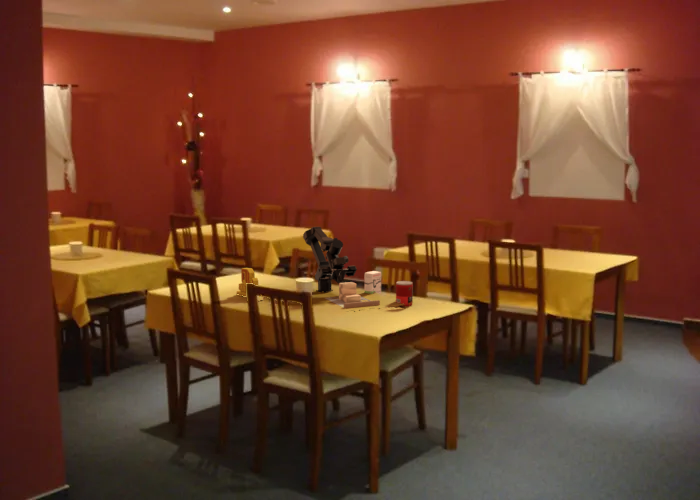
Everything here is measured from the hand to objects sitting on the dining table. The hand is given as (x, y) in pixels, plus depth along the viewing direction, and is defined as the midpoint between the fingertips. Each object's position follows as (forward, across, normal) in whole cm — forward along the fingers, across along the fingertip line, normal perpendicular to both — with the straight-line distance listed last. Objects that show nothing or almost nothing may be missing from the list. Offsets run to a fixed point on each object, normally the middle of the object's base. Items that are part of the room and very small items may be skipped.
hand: (342, 285), depth 373 cm
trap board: (+10, 0, 0) cm, 10 cm away
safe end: (+19, 0, -9) cm, 21 cm away
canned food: (+21, +22, -11) cm, 33 cm away
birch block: (+10, 0, -2) cm, 11 cm away
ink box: (+1, +19, +9) cm, 21 cm away
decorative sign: (-12, -40, +22) cm, 48 cm away
